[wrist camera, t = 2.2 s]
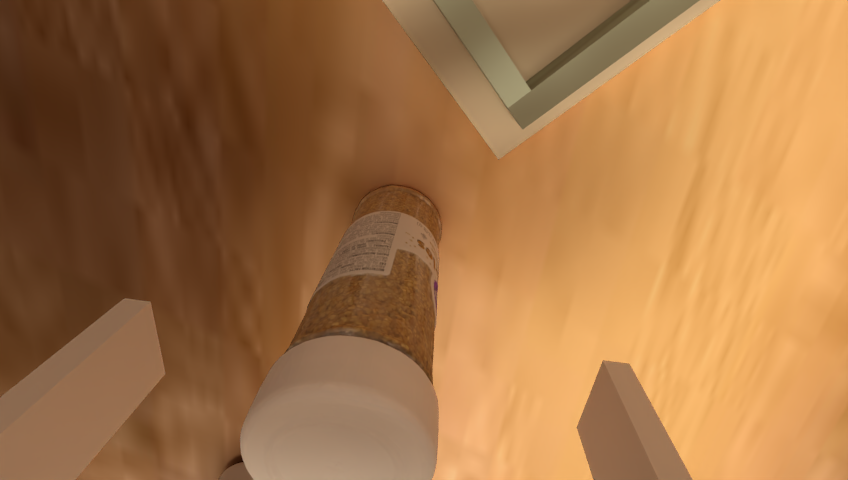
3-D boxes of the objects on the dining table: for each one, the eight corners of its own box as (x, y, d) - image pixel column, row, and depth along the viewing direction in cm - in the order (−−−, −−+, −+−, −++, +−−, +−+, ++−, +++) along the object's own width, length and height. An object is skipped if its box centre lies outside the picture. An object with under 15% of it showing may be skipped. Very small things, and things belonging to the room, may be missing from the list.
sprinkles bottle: (450, 255, 22) (455, 523, 10) (366, 270, 23) (277, 538, 11) (430, 172, 20) (409, 380, 8) (340, 191, 21) (195, 410, 9)
